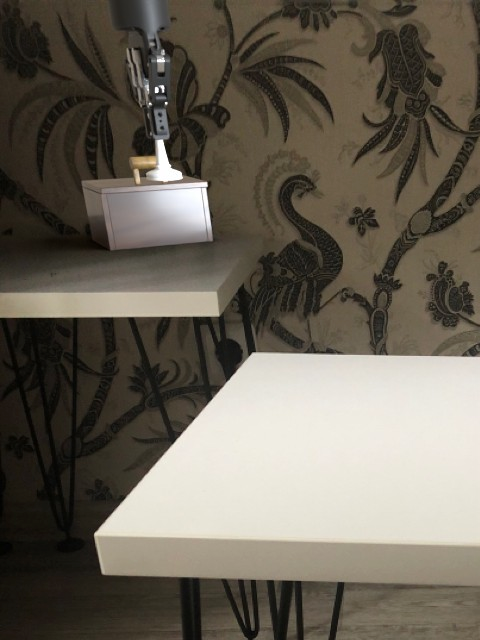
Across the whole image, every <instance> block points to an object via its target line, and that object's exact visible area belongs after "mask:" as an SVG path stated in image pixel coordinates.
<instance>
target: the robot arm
mask: <svg viewBox="0 0 480 640" xmlns="http://www.w3.org/2000/svg"><path fill="white" fill-rule="evenodd" d="M106 4H107V9H108V16H109V21H110V22H109V23H110V27H111V28H112V30H114V31H115V32H126V33H127V35H128V36H127V38H128V39H127V41H128V47H126V56H124V64H125V68H126V70H127V75H128V77H129V81H130V85H131V88H132V92H133V96H134V99H135V101H136V103H138V104H139V106H140V108H142V109H141V110H142V116H143V121H144V127H145V135H146V137H147V138H148V139H151V140H154V141H155V140H163V141H164V140H165V141H166V140H169V139H170V129H169V123H168V116H167V108H168V104H171V99H172V97H171V58H170V55H169V54H166V53H165V49H164V47H162V44H161V41H160V36H159V34H158V33H159V32H168V31H170V30H171V29H172V21H171V14H170V5H169V0H106ZM148 114H149V118H148ZM150 132H151V133H152V135H150V134H151V133H150Z"/></svg>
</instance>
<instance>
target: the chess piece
mask: <svg viewBox="0 0 480 640" xmlns="http://www.w3.org/2000/svg"><path fill="white" fill-rule="evenodd" d="M148 118H149V114H148ZM150 133H151V132H150ZM150 135H152V133H151V134H150ZM154 142H155V143H154V145H155V156H156V165H155V166H154V167H156V168H153V169H152V170H148V171H147V172H146V173H145V177H146V179H147V180H151V181H171V180H179V179H182V178H183V177H182V176H181V175H183V174H182V172H181V171H179V170H177V169H175V168H172V165H171V164H170V163H169V159H168V156H167V152H166V148H165V145H164V140H155V139H154Z"/></svg>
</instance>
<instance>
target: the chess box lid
mask: <svg viewBox="0 0 480 640" xmlns="http://www.w3.org/2000/svg"><path fill="white" fill-rule="evenodd" d="M128 159H129V160H128V163H129V167H130V169H131V170H132V174H133V175H132V176H133V177H124V178H123V177H122V178H107V179H105V178H104V179H90V180H89V179H88V180H81V186H82V187H85V188H88V189H90V190H93V191H95V192H98V193H100V194H112V193H128V192H143V191H158V190H173V189H188V188H204V187H206V188H208V187H209V184H208V181H207V180H203V179H199V178H196V177H192V176H187V175H184V174H182V175H181V176H182V177H183V178H182V179H179V180H171V181H151V180H147V179H146V177H147V176H140V171H139V170H145V169H147V170H149V169H155V168H156V167H154V166H155V165H156V155H149V156H148V155H147V156H130V157H129V158H128Z"/></svg>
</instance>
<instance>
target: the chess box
mask: <svg viewBox="0 0 480 640" xmlns="http://www.w3.org/2000/svg"><path fill="white" fill-rule="evenodd" d="M82 192H83V197H84V202H85V208H86V213H87V218H88V224H89V227H90V234H91V239H92V241H93V242H95V243H97V244H98V245H100V246H102V247H104V248H106V249H107V250H109V251H119V250H120V251H121V250H130V249H131V250H132V249H141V248H151V247H152V248H153V247H162V246H172V245H173V246H174V245H183V244H196V243H207V242H214V237H213V230H212V228H213V227H212V221H211V213H210V212H211V211H210V207H209V197H208V191H207V187H204V188H188V189H173V190H158V191H143V192H128V193H112V194H100V193H98V192H95V191H93V190H90V189H88V188H85V187H83V186H82Z"/></svg>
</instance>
